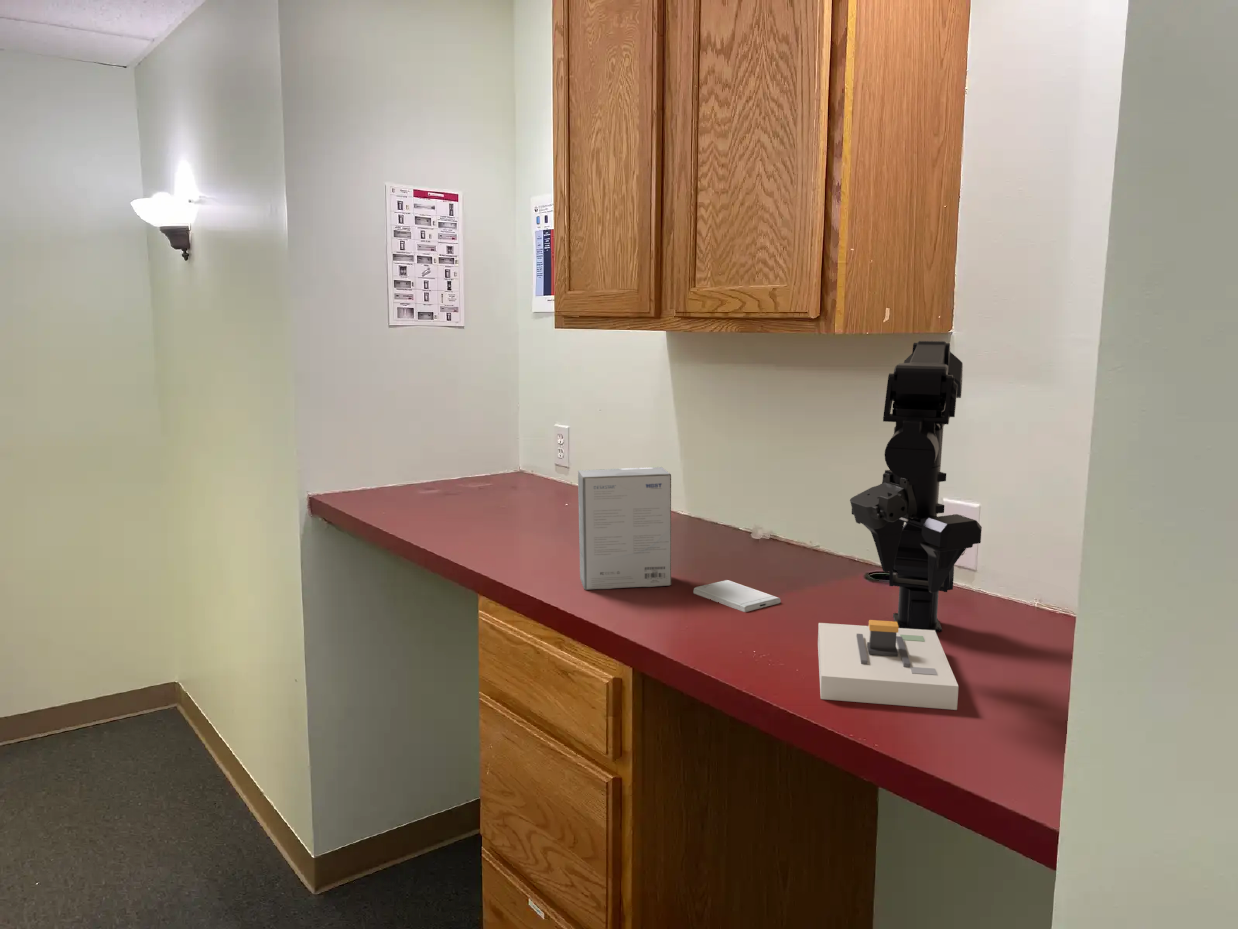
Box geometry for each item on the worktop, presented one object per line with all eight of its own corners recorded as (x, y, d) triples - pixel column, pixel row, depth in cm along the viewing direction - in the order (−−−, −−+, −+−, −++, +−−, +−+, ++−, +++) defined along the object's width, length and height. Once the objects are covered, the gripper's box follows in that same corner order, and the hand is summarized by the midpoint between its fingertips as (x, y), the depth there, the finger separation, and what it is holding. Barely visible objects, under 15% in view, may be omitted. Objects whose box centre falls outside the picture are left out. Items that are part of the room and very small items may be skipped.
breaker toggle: (867, 645, 123) (868, 618, 122) (895, 647, 122) (896, 620, 122) (868, 654, 120) (870, 626, 119) (897, 656, 119) (899, 628, 119)
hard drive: (693, 587, 156) (744, 605, 146) (728, 579, 161) (780, 596, 151) (693, 596, 156) (744, 615, 146) (728, 588, 161) (780, 606, 151)
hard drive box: (663, 574, 167) (664, 466, 164) (671, 587, 160) (673, 473, 156) (578, 578, 165) (577, 468, 162) (583, 590, 157) (582, 476, 154)
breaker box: (817, 642, 133) (818, 619, 132) (933, 650, 130) (935, 627, 129) (820, 699, 113) (821, 672, 113) (956, 710, 110) (958, 682, 110)
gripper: (820, 456, 122) (816, 569, 125) (912, 483, 105) (905, 613, 108) (889, 450, 126) (883, 559, 129) (988, 475, 109) (980, 600, 112)
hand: (909, 581), depth 120 cm, fingers open, 9 cm apart
